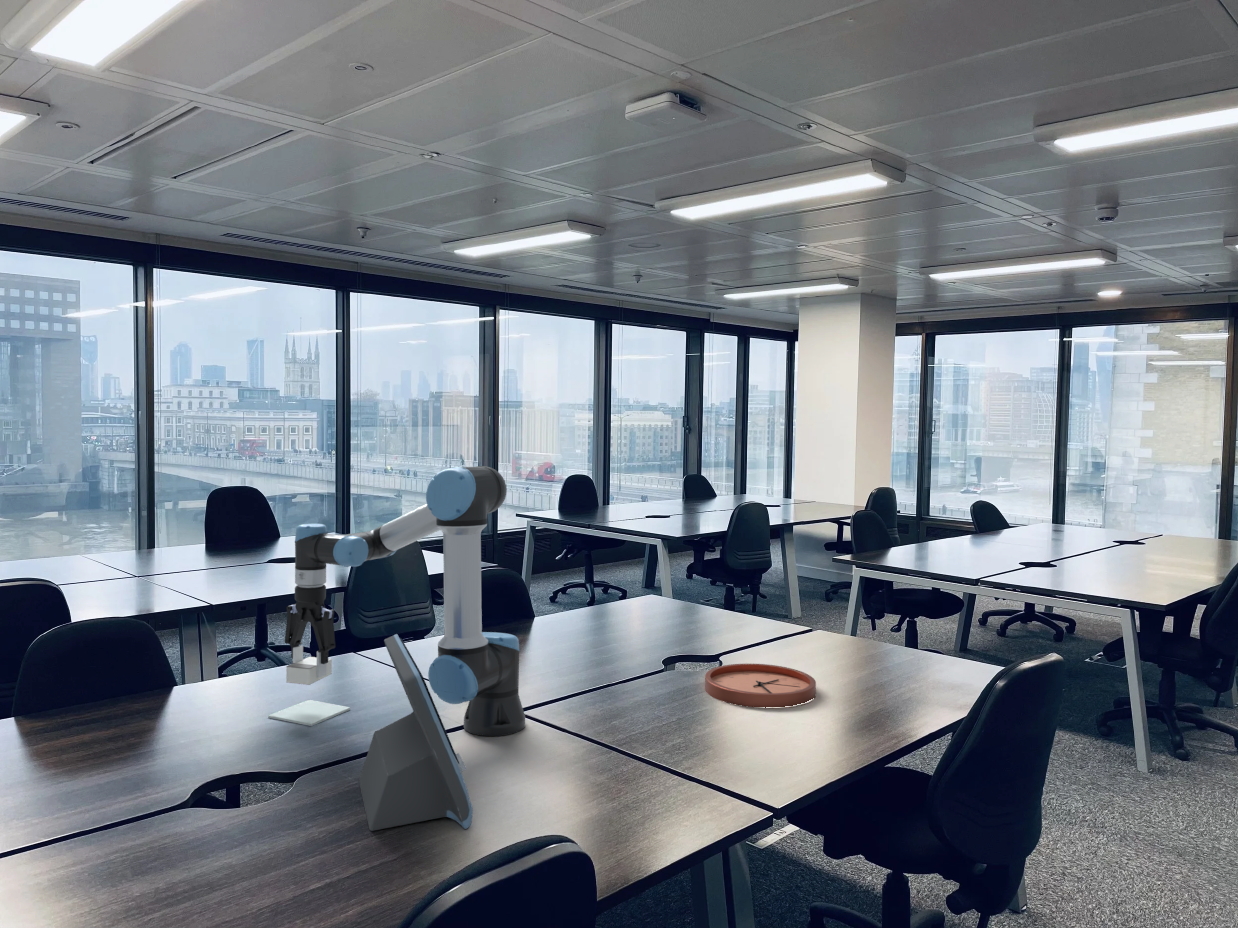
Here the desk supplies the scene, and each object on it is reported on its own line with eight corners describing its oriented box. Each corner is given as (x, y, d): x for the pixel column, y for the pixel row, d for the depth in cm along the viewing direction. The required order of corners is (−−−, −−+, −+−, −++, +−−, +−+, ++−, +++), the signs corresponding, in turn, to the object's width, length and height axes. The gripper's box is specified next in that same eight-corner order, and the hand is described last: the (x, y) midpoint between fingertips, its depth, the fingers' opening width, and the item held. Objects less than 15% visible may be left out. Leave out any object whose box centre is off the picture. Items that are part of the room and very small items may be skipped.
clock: (717, 659, 267) (821, 669, 257) (717, 671, 267) (820, 683, 257) (693, 686, 238) (809, 700, 227) (693, 701, 238) (808, 715, 228)
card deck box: (309, 671, 226) (309, 655, 226) (331, 673, 225) (331, 658, 225) (286, 682, 217) (286, 665, 216) (309, 684, 215) (309, 668, 215)
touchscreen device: (482, 827, 159) (478, 667, 158) (372, 848, 152) (367, 681, 151) (448, 759, 192) (444, 626, 190) (356, 773, 185) (352, 635, 183)
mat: (350, 709, 225) (350, 707, 225) (311, 725, 212) (311, 723, 212) (308, 701, 230) (308, 699, 230) (268, 717, 217) (268, 715, 217)
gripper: (269, 583, 220) (268, 671, 221) (330, 591, 212) (329, 683, 213) (291, 578, 227) (290, 664, 228) (351, 586, 219) (350, 675, 220)
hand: (309, 673), depth 221 cm, fingers closed on card deck box, 7 cm apart
